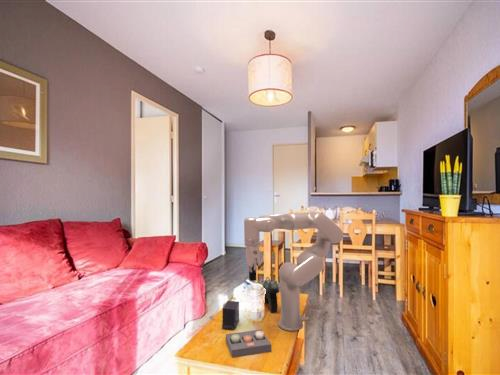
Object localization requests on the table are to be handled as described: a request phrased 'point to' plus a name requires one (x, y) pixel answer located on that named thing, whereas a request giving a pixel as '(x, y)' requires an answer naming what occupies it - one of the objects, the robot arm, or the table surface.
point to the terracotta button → (247, 338)
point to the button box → (248, 344)
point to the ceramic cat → (271, 294)
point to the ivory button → (259, 335)
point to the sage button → (235, 338)
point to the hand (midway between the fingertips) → (252, 280)
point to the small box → (230, 315)
